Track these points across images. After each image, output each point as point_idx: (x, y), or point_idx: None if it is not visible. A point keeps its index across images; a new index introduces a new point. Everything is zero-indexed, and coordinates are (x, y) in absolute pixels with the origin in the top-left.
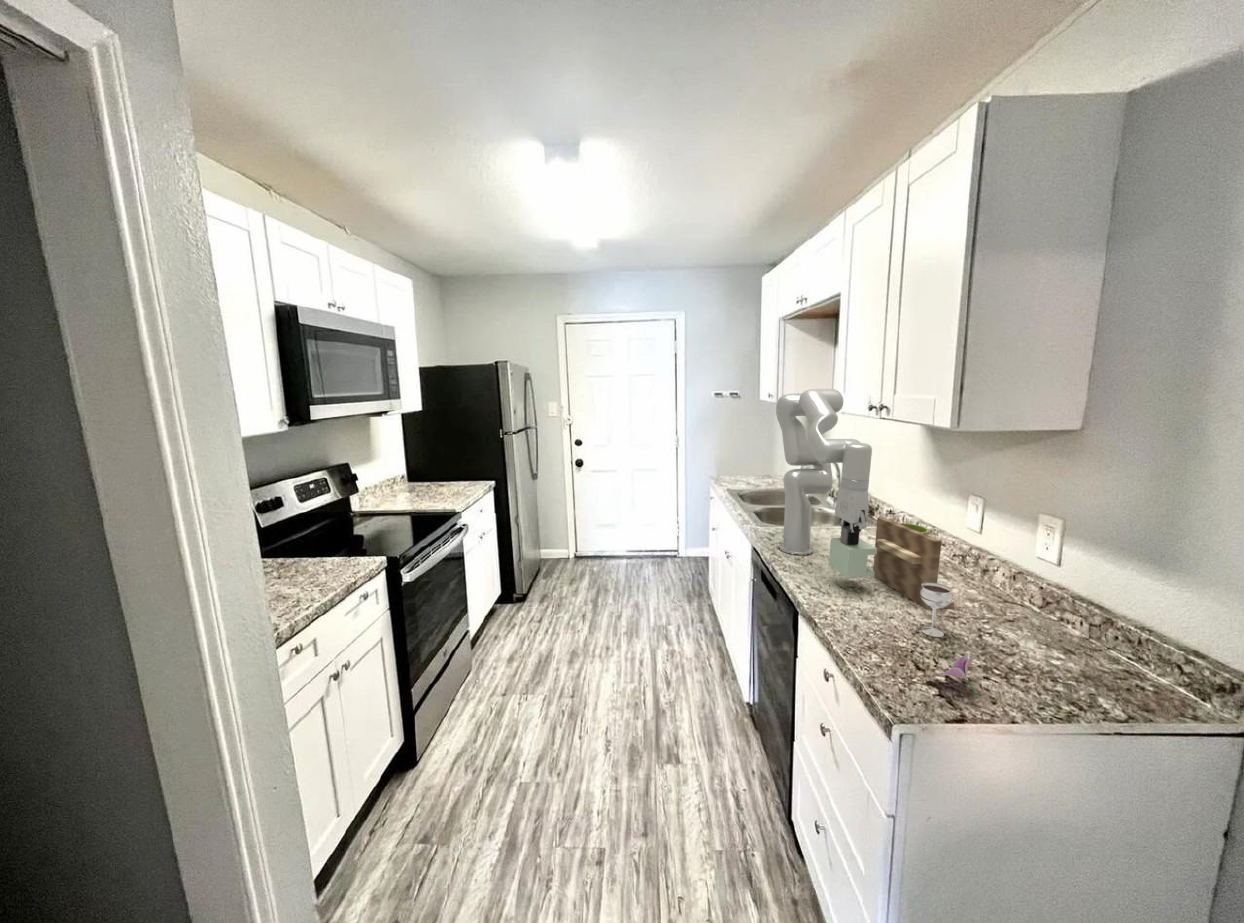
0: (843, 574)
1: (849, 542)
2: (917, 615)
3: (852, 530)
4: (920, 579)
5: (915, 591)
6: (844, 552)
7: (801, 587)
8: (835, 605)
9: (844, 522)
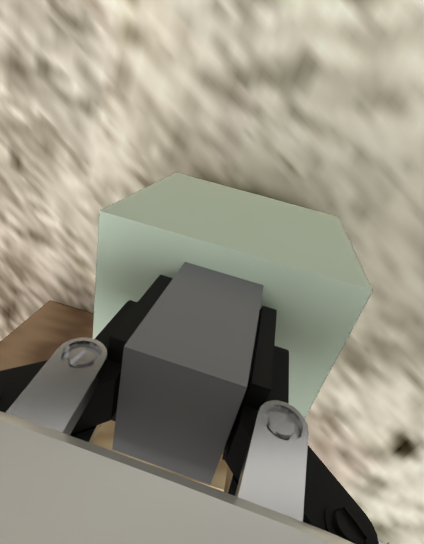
0: (205, 181)
1: (155, 285)
2: (23, 246)
3: (55, 353)
4: (36, 359)
5: (81, 333)
6: (175, 215)
7: (339, 3)
8: (126, 28)
9: (244, 468)
